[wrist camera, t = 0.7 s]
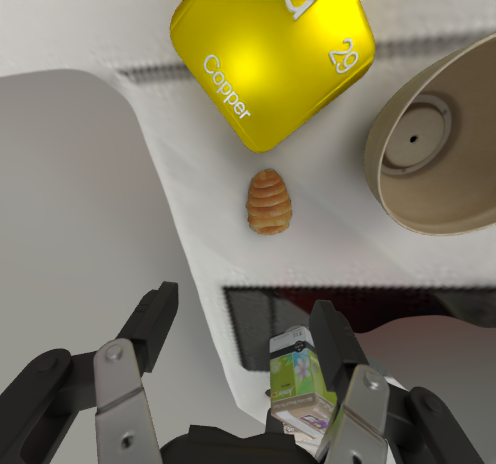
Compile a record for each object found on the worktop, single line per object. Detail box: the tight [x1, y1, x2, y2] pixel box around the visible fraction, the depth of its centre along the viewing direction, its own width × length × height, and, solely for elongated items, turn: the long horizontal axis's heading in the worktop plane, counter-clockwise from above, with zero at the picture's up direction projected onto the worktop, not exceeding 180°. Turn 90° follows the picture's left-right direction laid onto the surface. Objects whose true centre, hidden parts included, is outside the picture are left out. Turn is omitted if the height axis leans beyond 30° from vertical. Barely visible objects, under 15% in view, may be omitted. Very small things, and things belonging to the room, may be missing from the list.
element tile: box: [170, 0, 375, 153], centre depth 21 cm, size 15×15×5 cm
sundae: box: [265, 390, 284, 433], centre depth 59 cm, size 7×7×15 cm
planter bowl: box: [364, 32, 496, 236], centre depth 22 cm, size 16×16×11 cm
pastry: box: [246, 170, 292, 235], centre depth 30 cm, size 9×7×4 cm
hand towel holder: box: [284, 424, 322, 441], centre depth 75 cm, size 17×4×21 cm
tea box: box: [270, 326, 337, 439], centre depth 45 cm, size 15×10×15 cm
